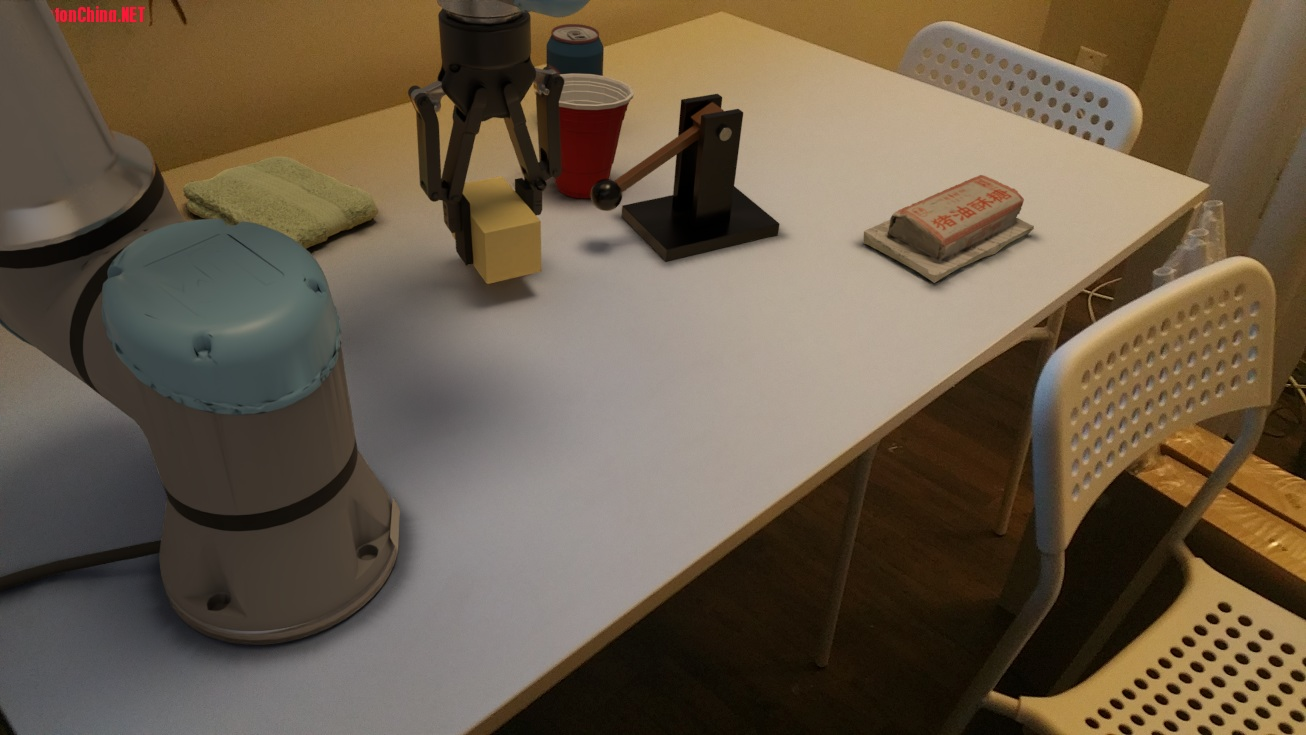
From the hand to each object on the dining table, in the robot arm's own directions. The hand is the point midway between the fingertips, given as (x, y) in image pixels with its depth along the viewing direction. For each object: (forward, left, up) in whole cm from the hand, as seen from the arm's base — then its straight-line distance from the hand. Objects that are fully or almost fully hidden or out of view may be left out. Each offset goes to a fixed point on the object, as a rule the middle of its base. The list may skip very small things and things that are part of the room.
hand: (495, 250), depth 95 cm
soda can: (+22, +29, -3) cm, 36 cm away
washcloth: (-16, +20, -3) cm, 26 cm away
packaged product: (+48, -12, -3) cm, 50 cm away
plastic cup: (+16, +14, -3) cm, 21 cm away
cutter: (+24, +1, -3) cm, 24 cm away
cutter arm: (+19, +1, +5) cm, 19 cm away
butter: (0, 0, 0) cm, 0 cm away
